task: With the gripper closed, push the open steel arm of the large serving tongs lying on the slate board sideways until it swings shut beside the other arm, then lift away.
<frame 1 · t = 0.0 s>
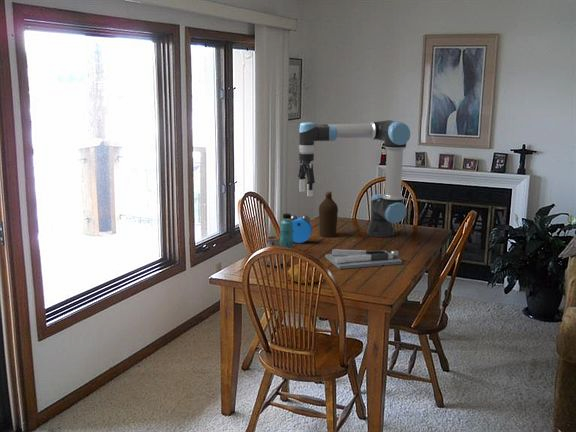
hand: (306, 193, 317), 28 cm above the table, tool pointing down, fingers open, 13 cm apart
slate board: (363, 260, 298), on the table
tongs fixed arm: (389, 259, 300), resting on slate board
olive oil: (327, 235, 346), on the table
beverage bottle: (286, 252, 312), on the table
croissant: (304, 280, 270), on the table
alarm clock: (299, 242, 331), on the table
tong arm: (359, 252, 300), point 3 cm above the table, hinge at -20.0°
coffee pot: (273, 267, 287), on the table
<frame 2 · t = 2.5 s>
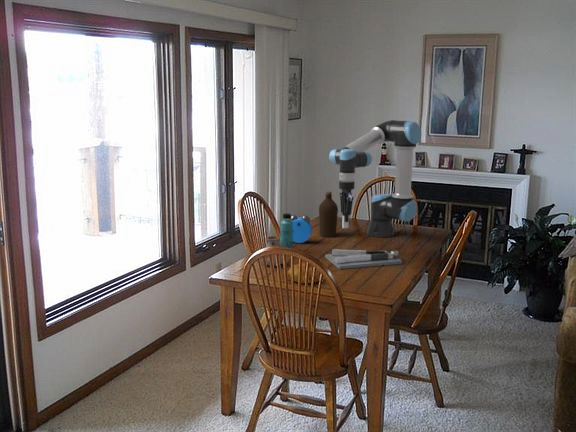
hand: (345, 227, 304), 14 cm above the table, tool pointing down, fingers closed
nothing on the table moved.
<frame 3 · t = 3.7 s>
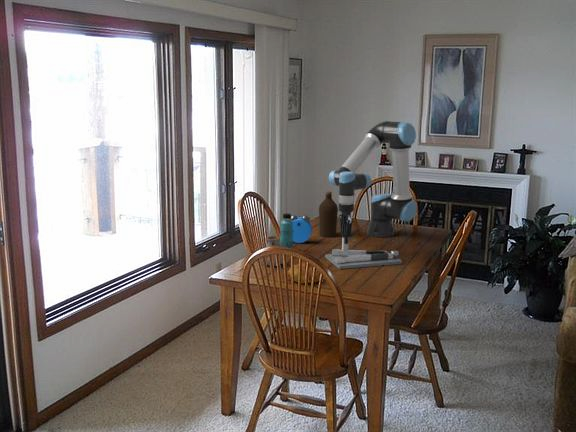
hand: (345, 249, 307), 3 cm above the table, tool pointing down, fingers closed
nothing on the table moved.
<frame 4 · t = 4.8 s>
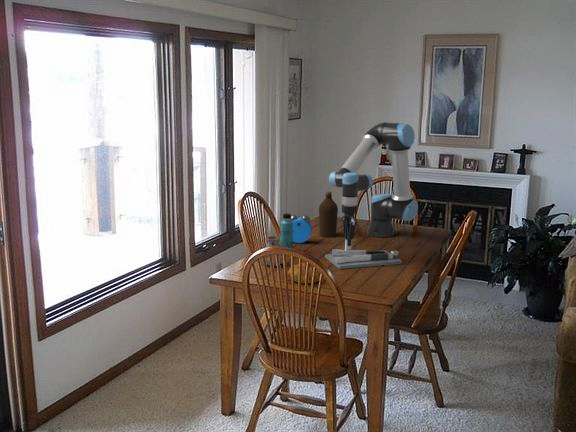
hand: (348, 251, 302), 3 cm above the table, tool pointing down, fingers closed
tong arm: (359, 252, 300), point 3 cm above the table, hinge at -19.5°, touching gripper
everything else where it was.
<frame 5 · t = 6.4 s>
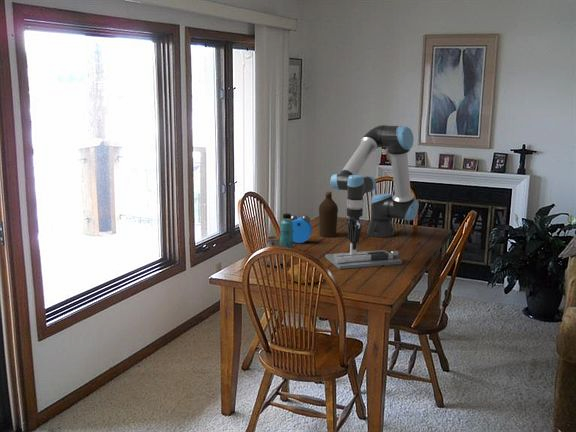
hand: (353, 255, 296), 3 cm above the table, tool pointing down, fingers closed
tong arm: (360, 255, 296), point 3 cm above the table, hinge at -1.2°, touching gripper
everything else where it was.
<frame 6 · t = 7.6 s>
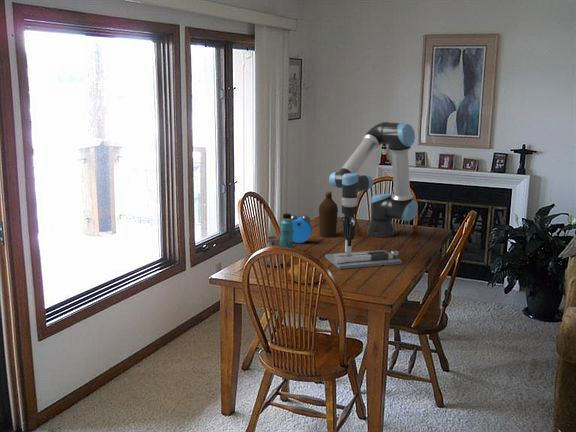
hand: (348, 251, 304), 3 cm above the table, tool pointing down, fingers closed
tong arm: (360, 255, 296), point 3 cm above the table, hinge at -1.1°
everything else where it was.
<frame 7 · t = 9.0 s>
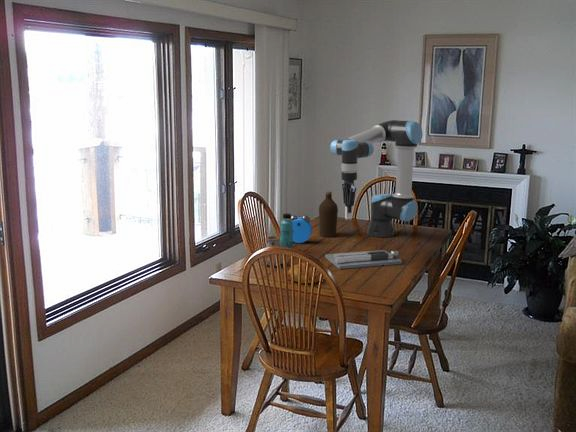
hand: (348, 218, 303), 19 cm above the table, tool pointing down, fingers closed
nothing on the table moved.
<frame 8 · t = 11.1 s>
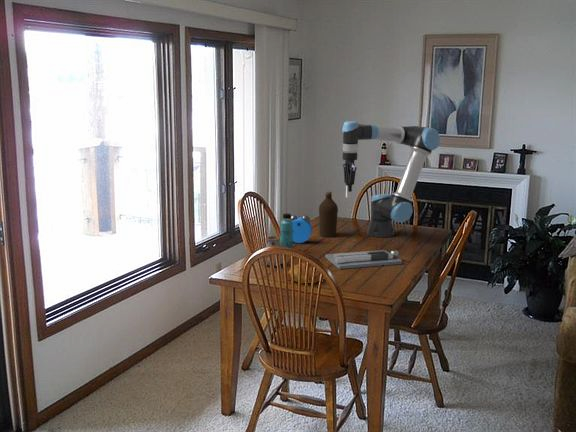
hand: (348, 197, 317), 26 cm above the table, tool pointing down, fingers closed
nothing on the table moved.
at the end: tong arm at -1° (first picture: -20°) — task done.
